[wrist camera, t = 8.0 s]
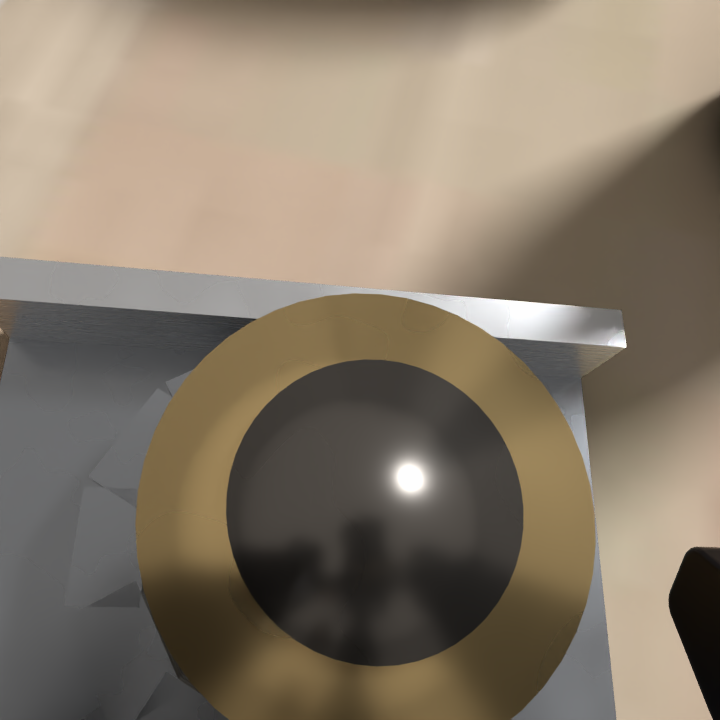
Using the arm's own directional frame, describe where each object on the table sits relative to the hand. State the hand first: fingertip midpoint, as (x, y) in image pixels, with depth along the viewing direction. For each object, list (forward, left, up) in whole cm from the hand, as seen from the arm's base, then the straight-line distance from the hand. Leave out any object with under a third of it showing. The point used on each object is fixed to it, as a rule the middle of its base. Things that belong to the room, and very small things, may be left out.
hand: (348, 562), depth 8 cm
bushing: (0, 0, -8) cm, 8 cm away
